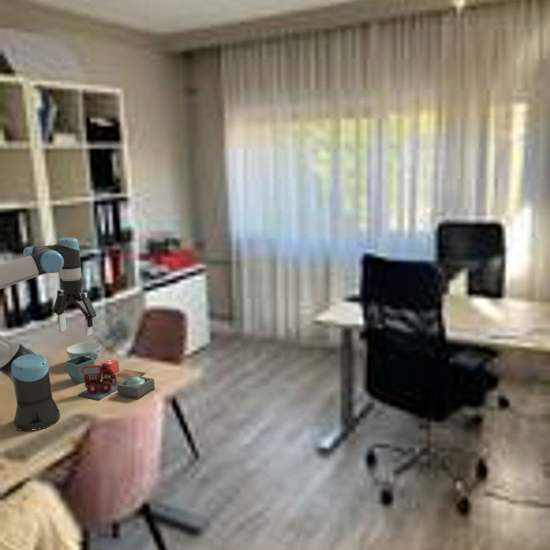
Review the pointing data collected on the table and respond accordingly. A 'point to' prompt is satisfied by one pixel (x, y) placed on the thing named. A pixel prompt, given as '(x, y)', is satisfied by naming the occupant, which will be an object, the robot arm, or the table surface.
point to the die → (112, 365)
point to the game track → (119, 378)
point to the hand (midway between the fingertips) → (76, 333)
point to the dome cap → (135, 381)
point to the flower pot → (78, 367)
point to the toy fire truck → (98, 378)
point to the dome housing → (135, 388)
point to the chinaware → (84, 350)
